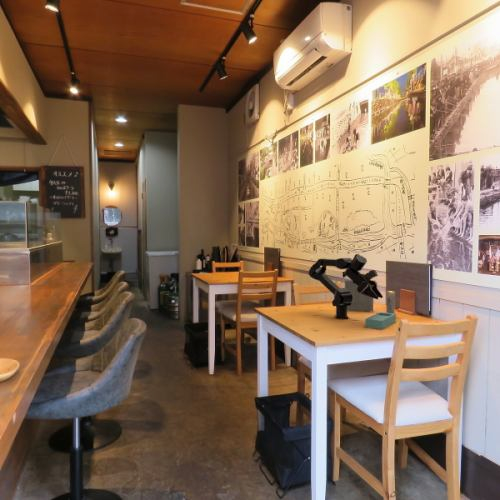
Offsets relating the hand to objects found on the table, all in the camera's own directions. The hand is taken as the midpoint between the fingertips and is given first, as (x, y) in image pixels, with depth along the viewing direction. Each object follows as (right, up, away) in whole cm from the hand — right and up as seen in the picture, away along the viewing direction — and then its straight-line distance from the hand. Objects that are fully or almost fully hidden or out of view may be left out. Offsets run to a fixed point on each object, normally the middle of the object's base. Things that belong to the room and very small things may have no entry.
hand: (380, 298), depth 200 cm
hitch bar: (0, -13, 0) cm, 13 cm away
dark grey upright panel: (-1, -11, +34) cm, 36 cm away
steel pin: (+10, -12, +15) cm, 22 cm away
